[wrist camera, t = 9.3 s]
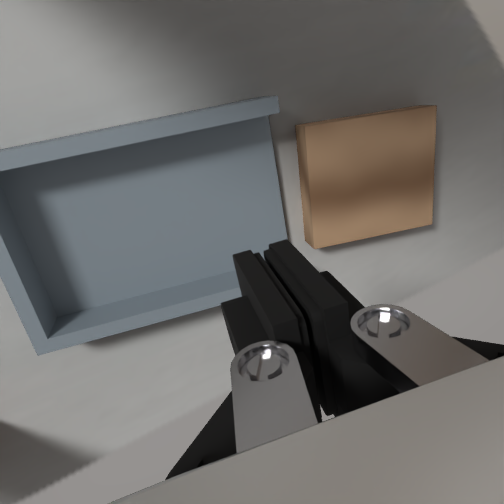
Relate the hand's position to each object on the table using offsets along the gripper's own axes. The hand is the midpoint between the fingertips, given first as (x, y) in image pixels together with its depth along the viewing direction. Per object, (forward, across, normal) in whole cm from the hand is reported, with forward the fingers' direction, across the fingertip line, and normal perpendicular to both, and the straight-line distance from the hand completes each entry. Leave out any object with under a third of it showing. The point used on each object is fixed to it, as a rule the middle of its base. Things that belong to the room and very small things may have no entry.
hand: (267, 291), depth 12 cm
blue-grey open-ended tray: (+18, +4, +2) cm, 19 cm away
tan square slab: (+19, -12, +3) cm, 23 cm away
